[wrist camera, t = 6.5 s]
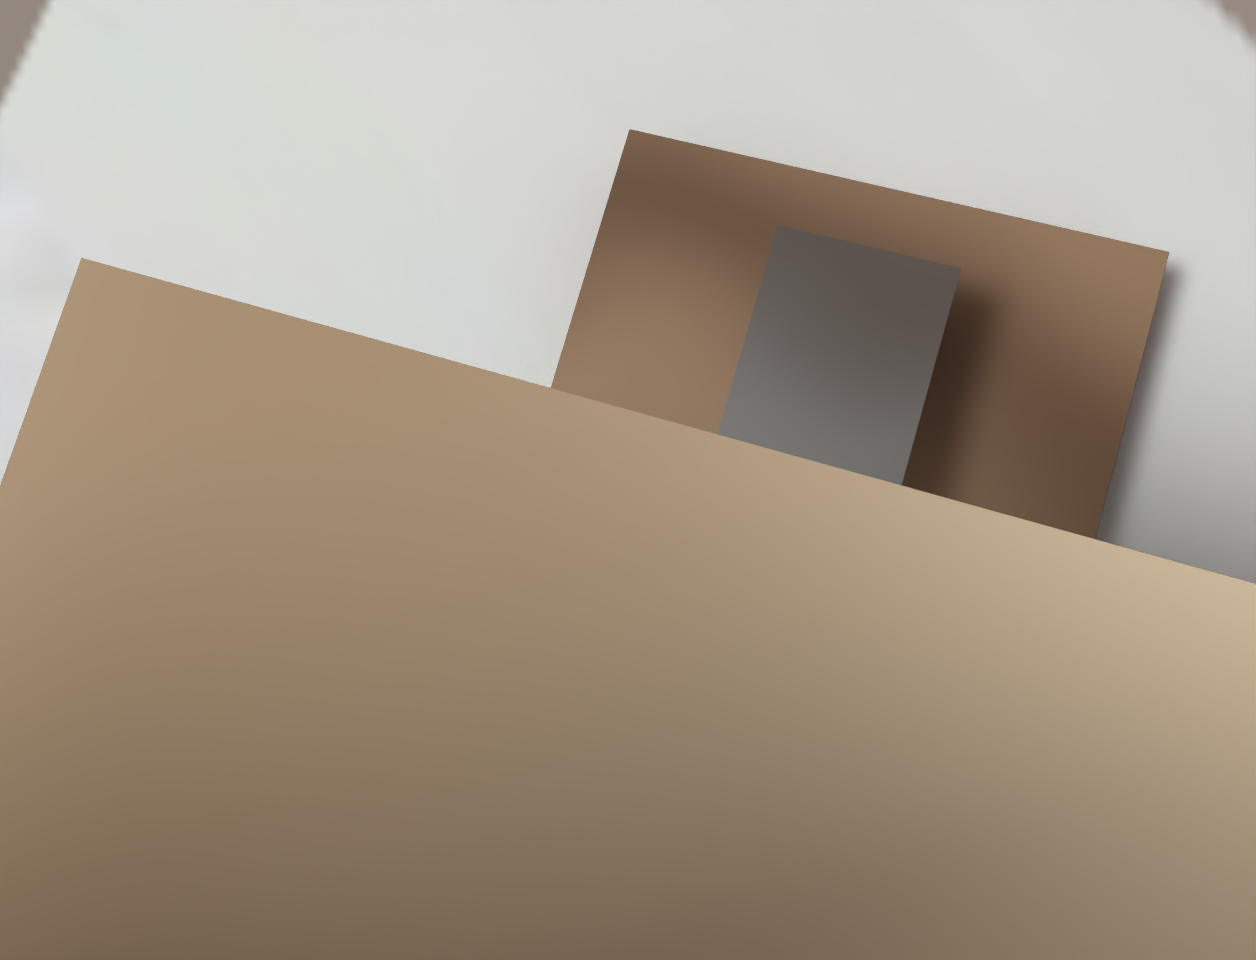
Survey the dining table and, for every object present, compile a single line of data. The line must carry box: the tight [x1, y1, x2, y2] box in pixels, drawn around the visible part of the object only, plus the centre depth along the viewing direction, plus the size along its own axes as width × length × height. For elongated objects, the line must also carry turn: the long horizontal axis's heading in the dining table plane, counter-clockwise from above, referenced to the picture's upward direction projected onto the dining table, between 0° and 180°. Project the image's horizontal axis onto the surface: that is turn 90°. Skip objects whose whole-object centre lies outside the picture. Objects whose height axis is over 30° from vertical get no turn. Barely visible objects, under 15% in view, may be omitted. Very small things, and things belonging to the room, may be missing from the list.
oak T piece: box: [0, 258, 1256, 960], centre depth 9 cm, size 12×4×13 cm, turn 73°
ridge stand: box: [551, 129, 1169, 539], centre depth 21 cm, size 20×10×4 cm, turn 163°
